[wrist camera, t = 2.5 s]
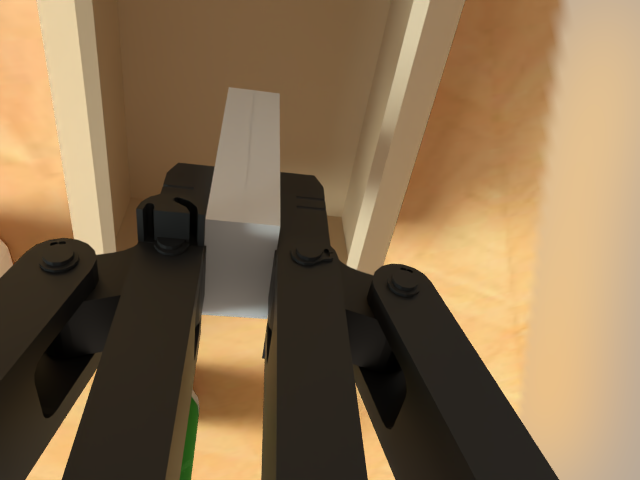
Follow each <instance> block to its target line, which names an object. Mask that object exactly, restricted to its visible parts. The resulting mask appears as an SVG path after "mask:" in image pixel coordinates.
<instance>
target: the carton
mask: <svg viewBox="0 0 640 480" xmlns="http://www.w3.org/2000/svg"><path fill="white" fill-rule="evenodd" d="M413 1H414V0H92V5H93V16H94V26H95V36H96V47H97V57H98V67H99V78H100V88H101V98H102V109H103V119H104V129H105V140H106V150H107V160H108V171H109V181H110V191H111V202H112V212H113V222H114V233H115V243H116V252H118V251H123V250H126V249H129V248H131V247H134V246H135V245H137V243H138V234H137V217H136V208H137V207H138V205H139V204H140V203H141V201H143V200H145V199H147V198H148V197H150V196H154V195H158V194H160V193H161V190H162V187H163V183H164V180H165V177H166V174H167V172H168V171H169V170H170V169H171V168H173V167H174V166H175V165H176V164H177V163H188V164H197V165H207V166H215V162H216V156H217V151H218V145H219V139H220V134H221V128H222V123H223V117H224V111H225V106H226V100H227V94H228V89H229V87H232V88H240V89H248V90H256V91H264V92H272V93H280V172H286V173H296V174H305V175H314V176H315V177H316V178H317V179H318V181H319V182H320V183H321V184H322V186H323V187H324V195H325V204H326V212H327V220H328V229H329V237H330V245H331V247H332V248H333V249H335V251H336V253H337V255H338V258H339V260H340V261H341V262H342V263H344V264H345V265H347V261H348V257H349V253H350V249H351V245H352V241H353V237H354V233H355V229H356V225H357V221H358V217H359V213H360V209H361V206H362V202H363V198H364V194H365V190H366V186H367V182H368V178H369V174H370V170H371V166H372V162H373V158H374V154H375V150H376V146H377V143H378V139H379V135H380V131H381V127H382V123H383V119H384V115H385V111H386V107H387V103H388V99H389V95H390V91H391V87H392V83H393V80H394V76H395V72H396V68H397V64H398V60H399V56H400V52H401V48H402V44H403V40H404V36H405V32H406V28H407V24H408V21H409V17H410V13H411V9H412V5H413Z"/></svg>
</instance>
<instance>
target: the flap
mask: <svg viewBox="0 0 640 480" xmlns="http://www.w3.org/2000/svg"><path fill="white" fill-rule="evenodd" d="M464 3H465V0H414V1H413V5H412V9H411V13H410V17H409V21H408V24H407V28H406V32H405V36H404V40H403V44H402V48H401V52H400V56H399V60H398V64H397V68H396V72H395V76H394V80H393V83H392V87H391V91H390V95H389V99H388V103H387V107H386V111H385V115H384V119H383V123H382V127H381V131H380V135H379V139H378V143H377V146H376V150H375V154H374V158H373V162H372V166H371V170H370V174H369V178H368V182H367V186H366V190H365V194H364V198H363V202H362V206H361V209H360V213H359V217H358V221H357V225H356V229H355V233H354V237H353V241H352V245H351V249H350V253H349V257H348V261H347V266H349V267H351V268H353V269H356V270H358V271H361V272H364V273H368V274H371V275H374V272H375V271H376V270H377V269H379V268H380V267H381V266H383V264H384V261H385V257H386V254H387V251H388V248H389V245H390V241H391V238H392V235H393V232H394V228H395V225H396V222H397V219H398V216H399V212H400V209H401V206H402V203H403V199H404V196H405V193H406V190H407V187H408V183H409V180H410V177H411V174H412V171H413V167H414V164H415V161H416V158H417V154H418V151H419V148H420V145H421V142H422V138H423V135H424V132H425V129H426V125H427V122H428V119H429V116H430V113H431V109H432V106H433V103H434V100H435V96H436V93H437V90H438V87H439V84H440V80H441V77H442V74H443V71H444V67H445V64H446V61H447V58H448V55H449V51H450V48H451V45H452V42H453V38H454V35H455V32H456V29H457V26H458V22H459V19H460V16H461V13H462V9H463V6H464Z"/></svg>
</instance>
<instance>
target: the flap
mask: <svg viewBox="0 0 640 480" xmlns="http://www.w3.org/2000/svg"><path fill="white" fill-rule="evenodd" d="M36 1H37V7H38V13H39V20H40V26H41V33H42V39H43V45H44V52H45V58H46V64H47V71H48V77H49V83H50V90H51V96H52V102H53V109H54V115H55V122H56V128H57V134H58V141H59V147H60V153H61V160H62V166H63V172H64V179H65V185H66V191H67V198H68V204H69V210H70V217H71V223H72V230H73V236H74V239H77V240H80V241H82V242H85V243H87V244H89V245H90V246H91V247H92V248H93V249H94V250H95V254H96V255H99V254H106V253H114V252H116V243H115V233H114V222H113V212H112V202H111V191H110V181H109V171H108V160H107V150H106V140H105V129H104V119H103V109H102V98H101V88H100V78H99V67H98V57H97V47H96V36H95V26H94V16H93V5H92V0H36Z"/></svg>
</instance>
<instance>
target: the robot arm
mask: <svg viewBox="0 0 640 480" xmlns="http://www.w3.org/2000/svg"><path fill="white" fill-rule="evenodd" d="M136 217H137V234H138V243H137V245H135V246H134V247H131V248H129V249H126V250H123V251H118V252H114V253H106V254H99V255H96V254H95V250H94V249H93V248H92V247H91V246H90V245H89V244H87V243H85V242H82V241H80V240H77V239H68V238H61V239H53V240H48V241H45V242H42V243H40V244H37V245H35V246H34V247H32V248H31V249H30V250H28V251H27V252H26V253H25V254H24V255H23V256H22V257H21V258H20V259H19V260H18V261H17V262H16V263H15V264H14V265H13V266H12V267H11V268H10V269H9V270H8V271H7V272H6V273H5V274H4V275H3V276H2V277H1V278H0V480H25V479H26V478H27V476H28V474H29V473H30V471H31V470H32V468H33V467H34V465H35V464H36V462H37V461H38V459H39V457H40V456H41V454H42V453H43V451H44V450H45V448H46V447H47V445H48V444H49V442H50V440H51V439H52V437H53V436H54V434H55V433H56V431H57V430H58V428H59V427H60V425H61V423H62V422H63V420H64V419H65V417H66V416H67V414H68V413H69V411H70V410H71V408H72V406H73V405H74V403H75V402H76V400H77V399H78V397H79V396H80V394H81V393H82V391H83V389H84V388H85V386H86V385H87V383H88V382H89V380H90V379H91V377H92V376H93V374H94V372H95V371H96V369H97V371H96V374H95V377H94V381H93V384H92V387H91V390H90V393H89V396H88V399H87V402H86V406H85V409H84V412H83V415H82V418H81V421H80V424H79V427H78V431H77V434H76V437H75V440H74V443H73V446H72V449H71V452H70V456H69V459H68V462H67V465H66V468H65V471H64V474H63V477H62V480H179V479H180V473H181V466H182V459H183V452H184V445H185V438H186V431H187V424H188V417H189V410H190V403H191V396H192V389H193V382H194V375H195V368H196V361H197V355H198V348H199V341H200V334H201V315H216V316H231V317H247V318H262V319H267V316H268V322H267V329H266V336H265V343H264V350H263V356H262V358H264V359H265V369H264V405H263V442H262V478H261V480H368V478H367V470H366V463H365V455H364V448H363V440H362V432H361V425H360V417H359V409H358V402H357V394H356V387H355V383H356V386H357V388H358V390H359V393H360V395H361V398H362V400H363V403H364V405H365V407H366V410H367V412H368V415H369V417H370V419H371V422H372V424H373V427H374V429H375V431H376V434H377V436H378V439H379V441H380V444H381V446H382V448H383V451H384V453H385V456H386V458H387V460H388V463H389V465H390V468H391V470H392V472H393V475H394V477H395V480H559V479H558V477H557V476H556V474H555V473H554V471H553V470H552V468H551V466H550V465H549V463H548V462H547V460H546V459H545V457H544V456H543V454H542V453H541V451H540V450H539V448H538V446H537V445H536V443H535V442H534V440H533V439H532V437H531V435H530V434H529V432H528V431H527V429H526V428H525V426H524V425H523V423H522V422H521V420H520V418H519V417H518V415H517V414H516V412H515V411H514V409H513V408H512V406H511V405H510V403H509V401H508V400H507V398H506V397H505V395H504V394H503V392H502V391H501V389H500V388H499V386H498V384H497V383H496V381H495V380H494V378H493V377H492V375H491V374H490V372H489V371H488V369H487V367H486V366H485V364H484V363H483V361H482V360H481V358H480V357H479V355H478V354H477V352H476V350H475V349H474V347H473V346H472V344H471V343H470V341H469V340H468V338H467V337H466V335H465V333H464V332H463V330H462V329H461V327H460V326H459V324H458V323H457V321H456V320H455V318H454V316H453V315H452V313H451V312H450V310H449V309H448V307H447V306H446V304H445V303H444V301H443V299H442V298H441V296H440V295H439V293H438V292H437V290H436V289H435V287H434V286H433V284H432V282H431V281H430V280H429V279H428V278H427V277H426V276H425V275H424V274H423V273H421V272H420V271H418V270H416V269H415V268H412V267H409V266H406V265H403V264H389V265H385V266H381V267H380V268H379V269H377V270H376V271H375V272H374V275H371V274H368V273H364V272H361V271H358V270H356V269H353V268H351V267H349V266H347V265H345V264H344V263H342V262H341V261H340V260H339V258H338V255H337V253H336V251H335V249H333V248H332V247H331V245H330V237H329V229H328V220H327V212H326V204H325V195H324V187H323V186H322V184H321V183H320V182H319V181H318V179H317V178H316V177H315V176H314V175H305V174H296V173H286V172H280V93H272V92H264V91H256V90H248V89H240V88H232V87H229V89H228V94H227V100H226V106H225V111H224V117H223V123H222V128H221V134H220V139H219V145H218V151H217V156H216V162H215V166H207V165H197V164H188V163H177V164H176V165H175V166H174V167H173V168H171V169H170V170H169V171H168V172H167V174H166V177H165V180H164V183H163V187H162V190H161V193H160V194H158V195H154V196H150V197H148V198H147V199H145V200H143V201H141V203H140V204H139V205H138V207H137V208H136Z"/></svg>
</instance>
